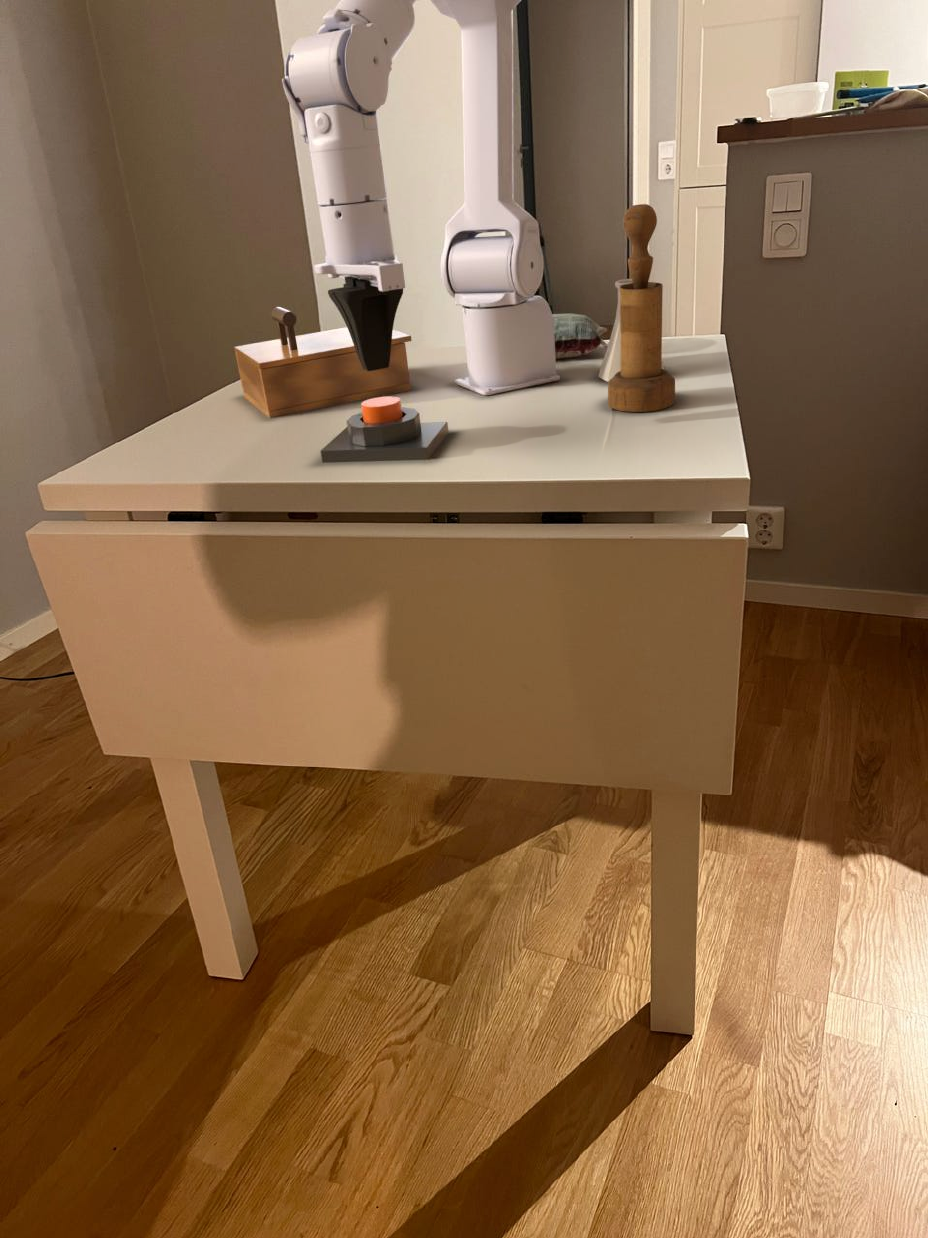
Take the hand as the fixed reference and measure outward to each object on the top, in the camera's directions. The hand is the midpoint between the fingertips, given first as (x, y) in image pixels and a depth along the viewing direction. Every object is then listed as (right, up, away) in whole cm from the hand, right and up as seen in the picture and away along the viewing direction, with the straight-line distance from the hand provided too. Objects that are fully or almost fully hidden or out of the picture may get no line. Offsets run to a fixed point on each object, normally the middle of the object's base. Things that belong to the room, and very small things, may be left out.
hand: (376, 368), depth 82 cm
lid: (-9, +9, +23) cm, 26 cm away
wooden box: (-8, +4, +25) cm, 27 cm away
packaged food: (+20, +10, +32) cm, 39 cm away
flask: (+26, +4, +19) cm, 32 cm away
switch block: (+1, -6, +3) cm, 7 cm away
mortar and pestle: (+25, -1, +9) cm, 27 cm away
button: (+1, -4, +2) cm, 5 cm away
